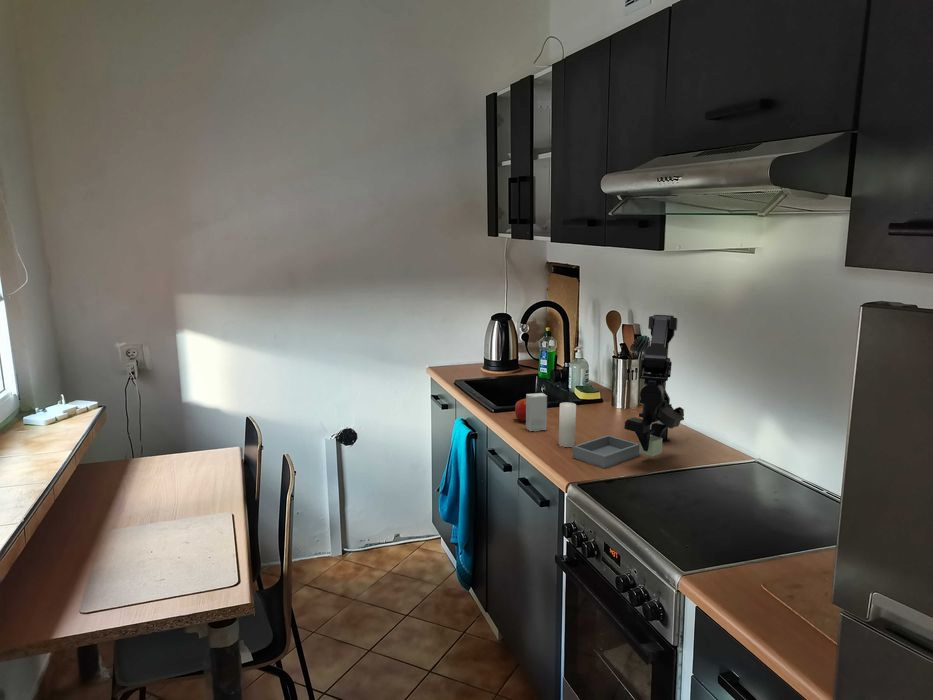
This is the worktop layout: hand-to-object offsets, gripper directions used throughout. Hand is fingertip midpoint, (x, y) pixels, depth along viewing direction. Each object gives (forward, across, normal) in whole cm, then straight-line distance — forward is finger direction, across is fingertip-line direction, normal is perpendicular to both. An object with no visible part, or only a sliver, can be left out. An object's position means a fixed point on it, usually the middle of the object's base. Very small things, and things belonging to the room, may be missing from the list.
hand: (650, 449), depth 197 cm
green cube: (+1, 0, 0) cm, 1 cm away
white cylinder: (+4, -7, +25) cm, 26 cm away
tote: (+4, -7, +11) cm, 13 cm away
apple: (+4, +1, +51) cm, 51 cm away
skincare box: (+4, -3, +42) cm, 42 cm away
